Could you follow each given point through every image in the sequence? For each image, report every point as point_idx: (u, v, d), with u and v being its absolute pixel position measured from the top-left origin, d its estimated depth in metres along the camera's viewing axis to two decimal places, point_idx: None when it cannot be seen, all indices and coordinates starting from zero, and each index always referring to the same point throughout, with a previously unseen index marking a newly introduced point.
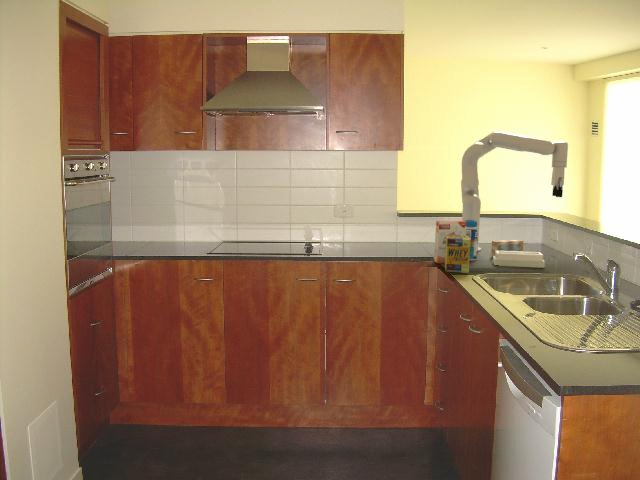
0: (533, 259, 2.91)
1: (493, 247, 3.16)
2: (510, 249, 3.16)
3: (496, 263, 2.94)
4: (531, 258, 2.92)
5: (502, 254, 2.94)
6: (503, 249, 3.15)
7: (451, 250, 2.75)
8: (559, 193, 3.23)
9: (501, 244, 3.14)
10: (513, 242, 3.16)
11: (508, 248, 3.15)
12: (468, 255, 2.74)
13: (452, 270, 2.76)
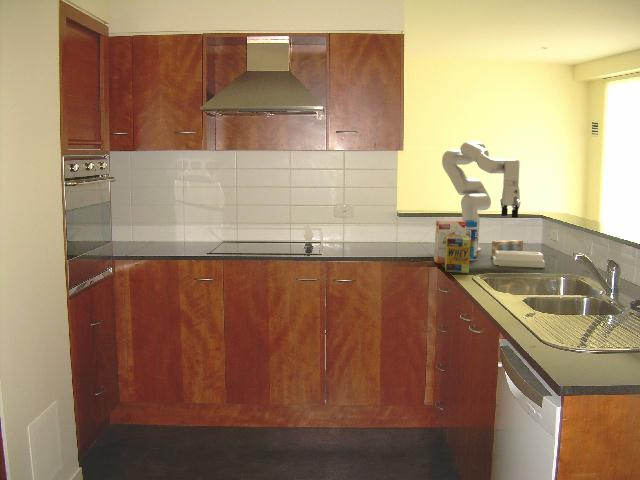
0: (533, 259, 2.91)
1: (493, 247, 3.15)
2: (510, 249, 3.16)
3: (496, 263, 2.94)
4: (531, 258, 2.92)
5: (502, 254, 2.94)
6: (503, 249, 3.14)
7: (451, 250, 2.75)
8: None
9: (501, 244, 3.14)
10: (513, 242, 3.16)
11: (508, 248, 3.15)
12: (468, 255, 2.74)
13: (452, 270, 2.76)
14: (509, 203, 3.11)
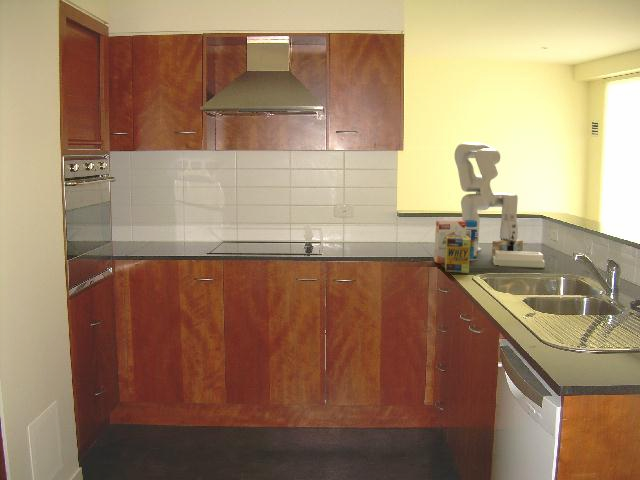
0: (533, 259, 2.91)
1: (494, 247, 3.15)
2: None
3: (496, 263, 2.94)
4: (531, 258, 2.92)
5: (502, 254, 2.94)
6: (504, 249, 3.14)
7: (451, 250, 2.75)
8: None
9: (502, 244, 3.13)
10: None
11: None
12: (468, 255, 2.74)
13: (452, 270, 2.76)
14: (507, 237, 3.13)
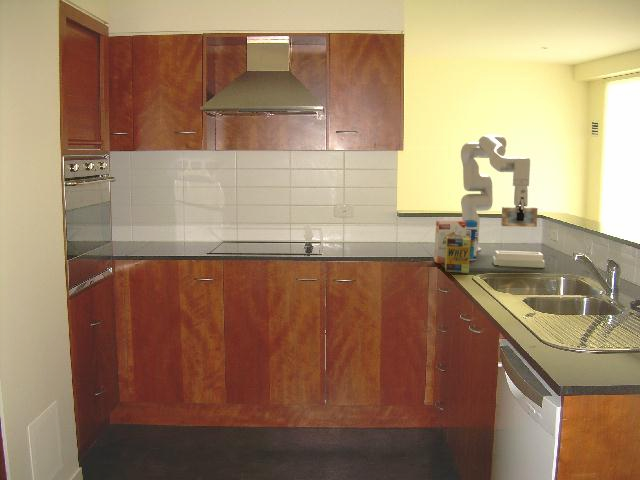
0: (533, 259, 2.91)
1: (502, 214, 2.98)
2: None
3: (496, 263, 2.94)
4: (531, 258, 2.92)
5: (502, 254, 2.94)
6: (513, 216, 2.95)
7: (451, 250, 2.75)
8: None
9: (510, 210, 2.95)
10: (525, 209, 2.95)
11: None
12: (468, 255, 2.74)
13: (452, 270, 2.76)
14: (516, 203, 2.94)
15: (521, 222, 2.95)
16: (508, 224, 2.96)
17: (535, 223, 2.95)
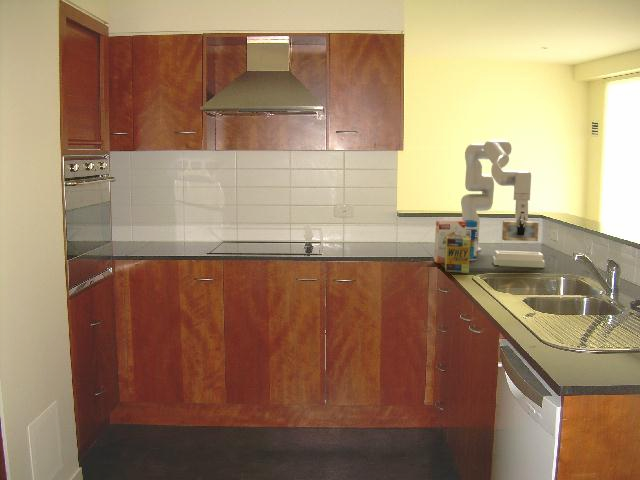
0: (533, 259, 2.91)
1: (503, 228, 2.96)
2: None
3: (496, 263, 2.94)
4: (531, 258, 2.92)
5: (502, 254, 2.94)
6: (513, 230, 2.93)
7: (451, 250, 2.75)
8: None
9: (511, 225, 2.93)
10: (526, 224, 2.92)
11: None
12: (468, 255, 2.74)
13: (452, 270, 2.76)
14: (517, 218, 2.92)
15: (522, 236, 2.93)
16: (508, 238, 2.94)
17: (536, 238, 2.93)
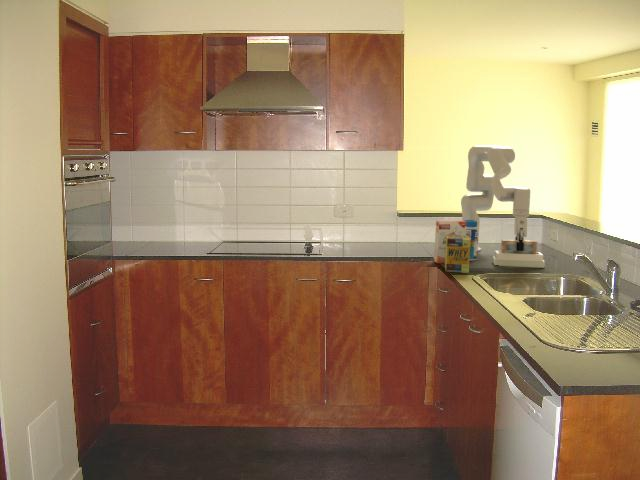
0: (533, 259, 2.91)
1: (501, 246, 2.97)
2: None
3: (496, 263, 2.94)
4: (531, 258, 2.92)
5: (502, 254, 2.94)
6: (512, 249, 2.95)
7: (451, 250, 2.75)
8: None
9: (509, 243, 2.94)
10: (524, 242, 2.94)
11: None
12: (468, 255, 2.74)
13: (452, 270, 2.76)
14: (516, 234, 2.93)
15: None
16: None
17: None
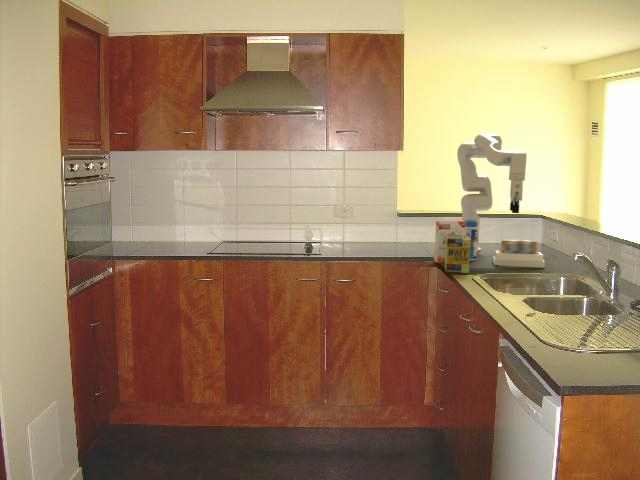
0: (533, 259, 2.91)
1: (501, 246, 2.97)
2: (520, 249, 2.94)
3: (496, 263, 2.94)
4: (531, 258, 2.92)
5: (502, 254, 2.94)
6: (512, 249, 2.95)
7: (451, 250, 2.75)
8: None
9: (509, 243, 2.94)
10: (524, 242, 2.94)
11: (517, 248, 2.94)
12: (468, 255, 2.74)
13: (452, 270, 2.76)
14: (511, 198, 2.98)
15: None
16: None
17: None
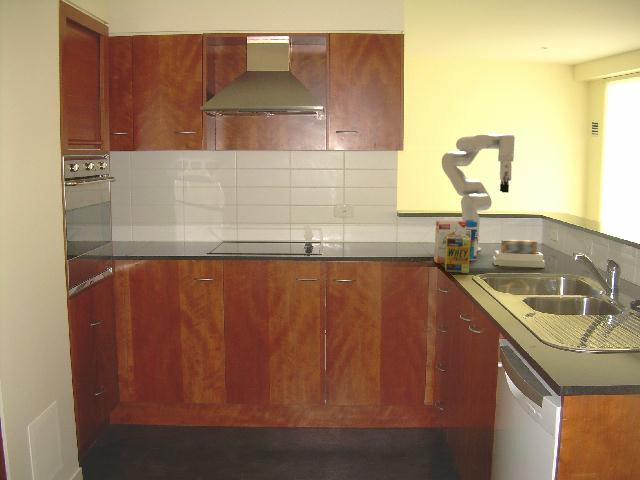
0: (533, 259, 2.91)
1: (501, 246, 2.97)
2: (520, 249, 2.94)
3: (496, 263, 2.94)
4: (531, 258, 2.92)
5: (502, 254, 2.94)
6: (512, 249, 2.95)
7: (451, 250, 2.75)
8: None
9: (509, 243, 2.94)
10: (524, 242, 2.94)
11: (517, 248, 2.94)
12: (468, 255, 2.74)
13: (452, 270, 2.76)
14: (501, 178, 3.12)
15: None
16: None
17: None
